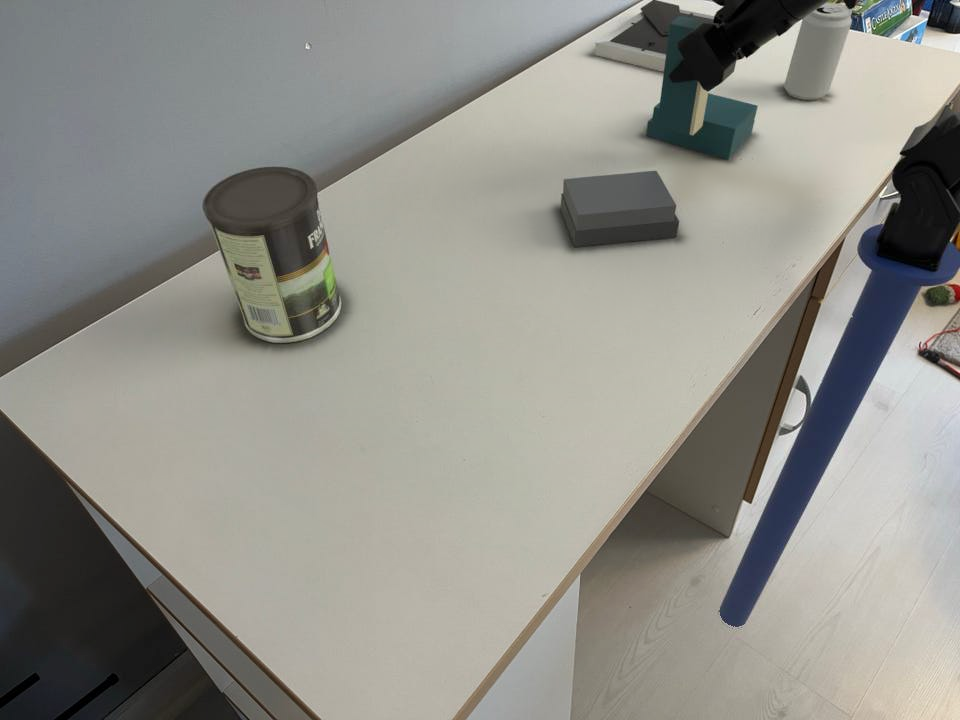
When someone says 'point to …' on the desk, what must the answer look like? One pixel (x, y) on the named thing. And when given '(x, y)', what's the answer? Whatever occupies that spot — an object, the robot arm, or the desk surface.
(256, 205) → the coffee can
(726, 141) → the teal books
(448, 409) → the desk surface
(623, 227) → the grey books
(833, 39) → the beverage can
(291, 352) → the desk surface
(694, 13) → the picture frame
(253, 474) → the desk surface
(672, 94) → the teal book
